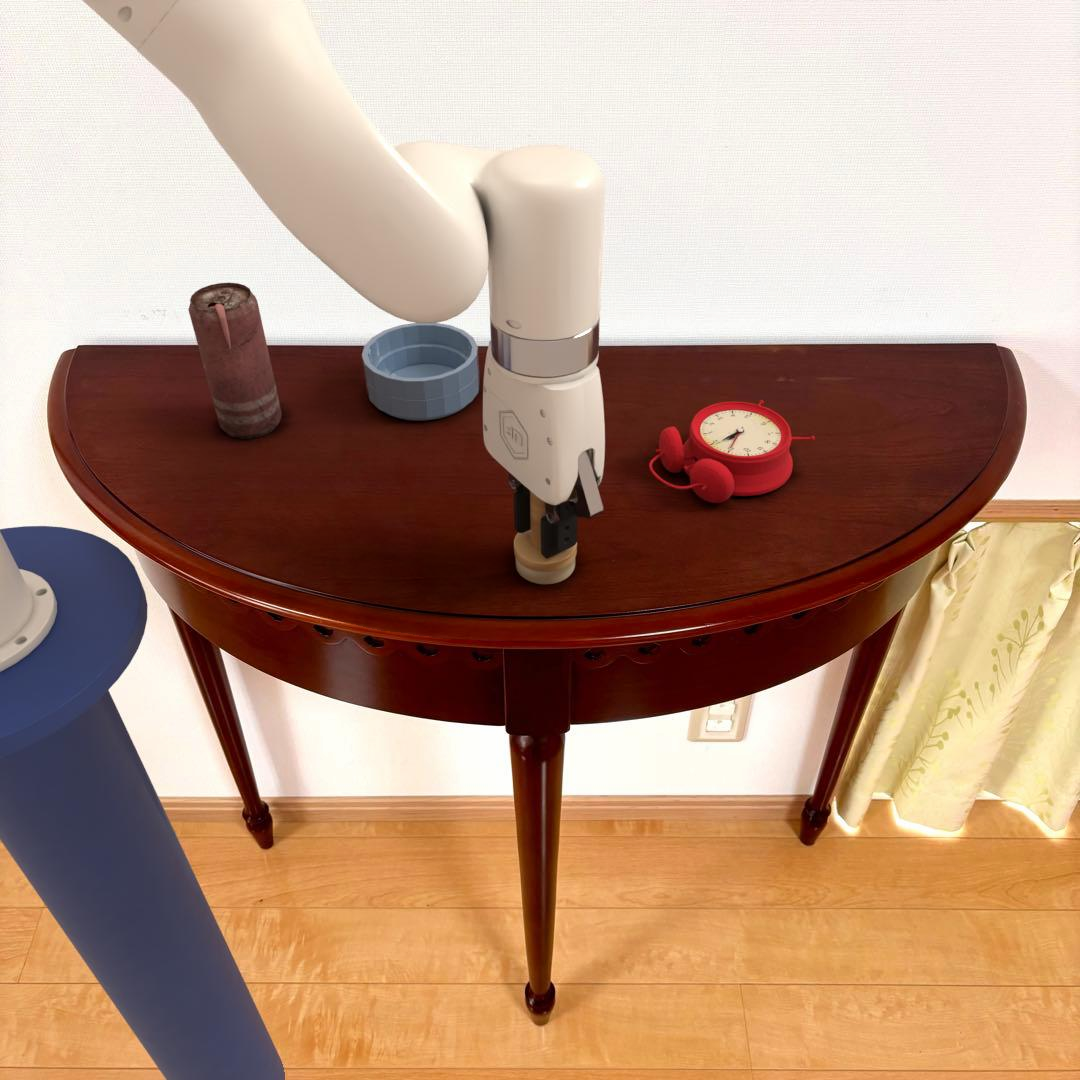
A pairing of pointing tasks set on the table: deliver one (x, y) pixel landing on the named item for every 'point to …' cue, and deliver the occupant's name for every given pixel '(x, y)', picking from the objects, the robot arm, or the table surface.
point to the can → (235, 359)
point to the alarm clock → (730, 451)
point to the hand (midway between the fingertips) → (545, 536)
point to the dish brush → (530, 555)
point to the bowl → (421, 370)
